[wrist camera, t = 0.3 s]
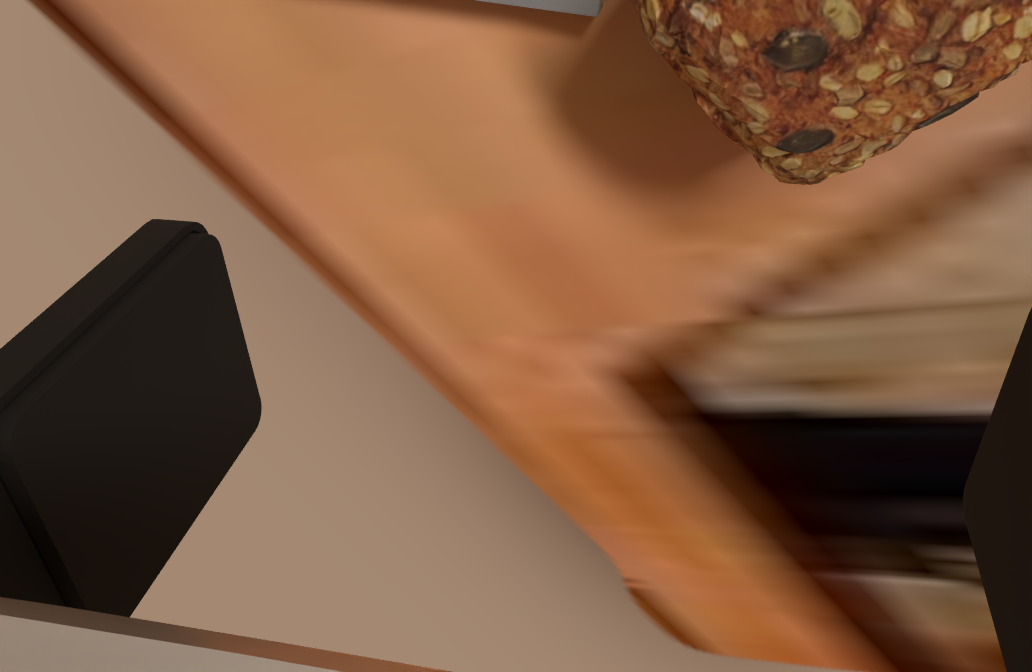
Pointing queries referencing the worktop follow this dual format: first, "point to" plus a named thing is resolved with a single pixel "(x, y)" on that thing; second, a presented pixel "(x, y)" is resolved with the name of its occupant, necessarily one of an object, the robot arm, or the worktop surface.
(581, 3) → the console
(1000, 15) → the bread
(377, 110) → the worktop surface
